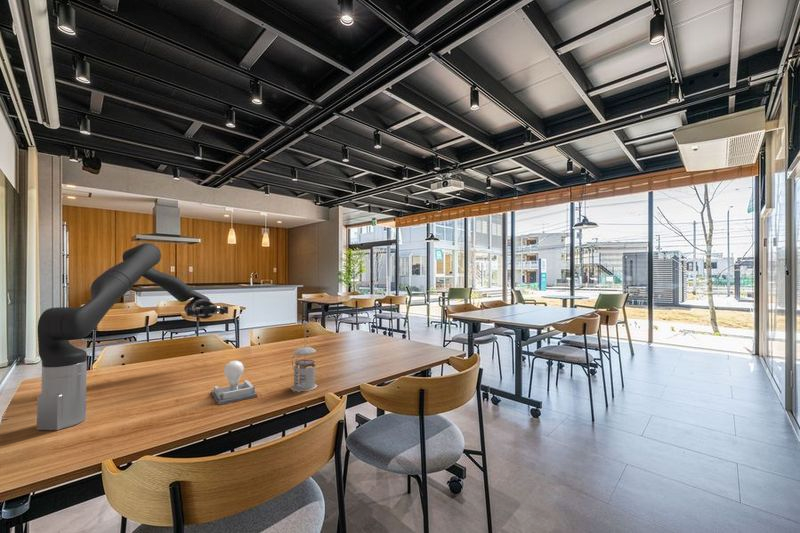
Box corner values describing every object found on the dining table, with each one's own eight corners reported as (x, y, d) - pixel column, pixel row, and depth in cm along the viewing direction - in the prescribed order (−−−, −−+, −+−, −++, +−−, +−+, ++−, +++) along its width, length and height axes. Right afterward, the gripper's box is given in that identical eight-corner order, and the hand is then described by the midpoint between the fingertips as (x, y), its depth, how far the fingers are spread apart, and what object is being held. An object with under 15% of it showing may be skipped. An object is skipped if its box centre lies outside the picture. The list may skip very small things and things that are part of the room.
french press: (301, 394, 122) (302, 324, 122) (282, 387, 129) (283, 321, 129) (323, 386, 130) (324, 321, 130) (304, 380, 137) (304, 318, 137)
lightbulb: (241, 394, 119) (242, 362, 119) (221, 395, 117) (222, 363, 117) (245, 388, 125) (245, 358, 125) (226, 389, 123) (226, 359, 123)
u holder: (257, 396, 119) (257, 388, 119) (219, 405, 112) (219, 395, 112) (246, 386, 130) (246, 378, 130) (211, 392, 123) (211, 384, 123)
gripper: (183, 300, 138) (189, 303, 126) (222, 298, 147) (231, 301, 135) (183, 319, 138) (188, 324, 126) (222, 316, 147) (230, 320, 134)
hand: (210, 312), depth 130 cm, fingers open, 8 cm apart
